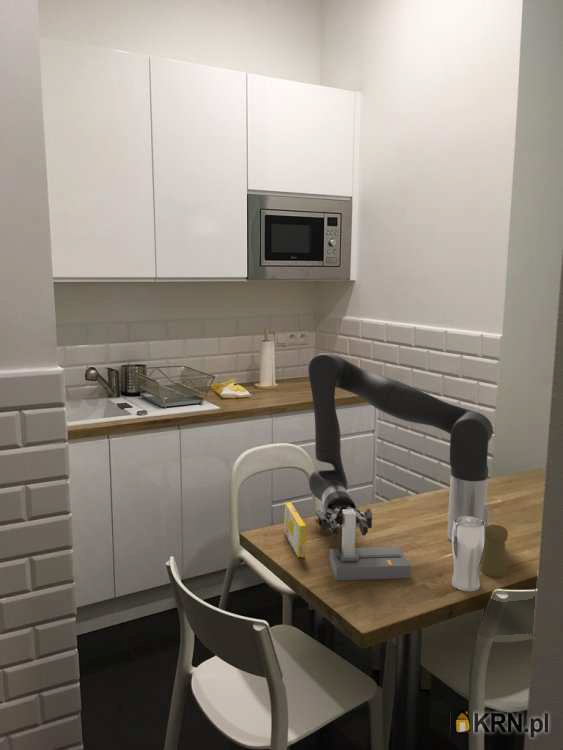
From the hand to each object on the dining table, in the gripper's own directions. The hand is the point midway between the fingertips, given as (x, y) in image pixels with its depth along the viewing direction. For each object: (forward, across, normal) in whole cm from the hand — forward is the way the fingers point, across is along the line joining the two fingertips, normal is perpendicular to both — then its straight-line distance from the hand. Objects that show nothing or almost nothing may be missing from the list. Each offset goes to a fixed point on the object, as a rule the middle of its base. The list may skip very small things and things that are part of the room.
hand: (350, 531), depth 145 cm
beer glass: (+7, +25, +11) cm, 28 cm away
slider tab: (-2, 0, +7) cm, 8 cm away
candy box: (-17, -11, +11) cm, 23 cm away
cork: (+1, +34, +11) cm, 36 cm away
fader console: (-2, +5, +10) cm, 12 cm away
